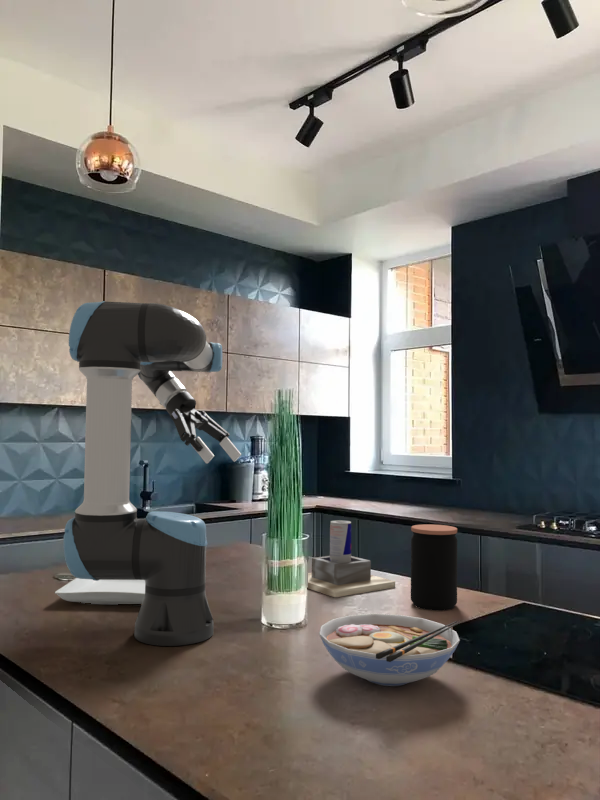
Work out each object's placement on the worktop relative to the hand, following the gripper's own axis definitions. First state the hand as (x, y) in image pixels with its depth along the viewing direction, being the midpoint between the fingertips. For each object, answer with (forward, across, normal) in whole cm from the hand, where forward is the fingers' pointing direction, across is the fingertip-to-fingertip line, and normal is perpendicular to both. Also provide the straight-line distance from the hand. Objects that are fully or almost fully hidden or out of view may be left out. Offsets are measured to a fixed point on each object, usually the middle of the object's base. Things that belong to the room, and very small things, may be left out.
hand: (224, 458), depth 169 cm
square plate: (+11, +14, -36) cm, 40 cm away
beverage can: (+40, -19, -5) cm, 44 cm away
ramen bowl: (+62, +40, +16) cm, 76 cm away
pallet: (+41, -19, -6) cm, 45 cm away
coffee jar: (+60, -9, +13) cm, 62 cm away
